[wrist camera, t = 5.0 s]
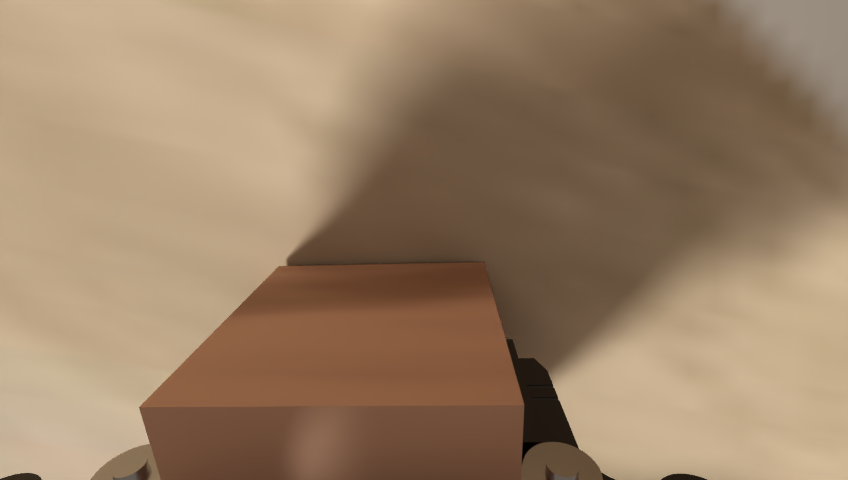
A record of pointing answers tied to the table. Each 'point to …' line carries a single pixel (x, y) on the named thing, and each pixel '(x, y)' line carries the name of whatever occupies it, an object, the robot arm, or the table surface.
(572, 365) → the table surface
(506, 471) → the terracotta cube
